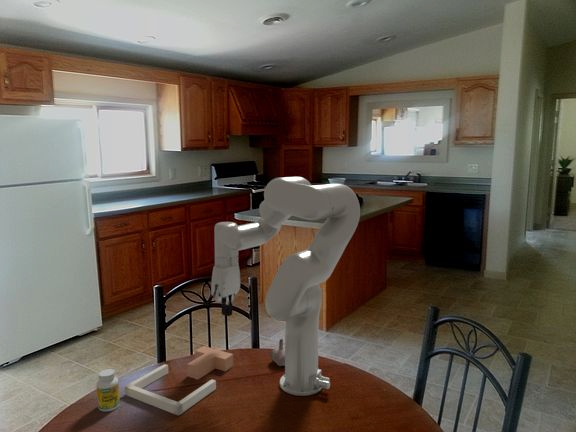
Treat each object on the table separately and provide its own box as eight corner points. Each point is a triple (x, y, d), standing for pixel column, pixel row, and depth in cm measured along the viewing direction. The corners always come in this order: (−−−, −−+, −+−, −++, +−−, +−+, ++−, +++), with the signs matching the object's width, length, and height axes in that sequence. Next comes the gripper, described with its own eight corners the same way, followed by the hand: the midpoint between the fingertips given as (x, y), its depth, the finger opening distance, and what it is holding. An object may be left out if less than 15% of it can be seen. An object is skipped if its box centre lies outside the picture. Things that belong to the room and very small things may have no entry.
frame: (216, 388, 126) (215, 380, 125) (178, 415, 113) (178, 406, 113) (164, 371, 136) (164, 364, 135) (125, 394, 123) (124, 386, 123)
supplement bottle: (117, 398, 121) (115, 365, 120) (122, 408, 117) (120, 373, 115) (96, 404, 118) (93, 371, 117) (100, 414, 114) (97, 379, 112)
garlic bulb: (273, 356, 146) (273, 333, 145) (295, 358, 145) (295, 335, 143) (267, 367, 139) (267, 343, 138) (290, 369, 137) (290, 345, 136)
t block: (233, 366, 139) (233, 354, 139) (208, 383, 129) (208, 370, 128) (204, 357, 145) (203, 345, 145) (177, 373, 135) (177, 360, 134)
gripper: (231, 254, 151) (231, 305, 154) (202, 263, 138) (203, 319, 141) (249, 257, 147) (249, 309, 150) (221, 267, 134) (221, 324, 137)
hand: (227, 314), depth 145 cm, fingers closed
